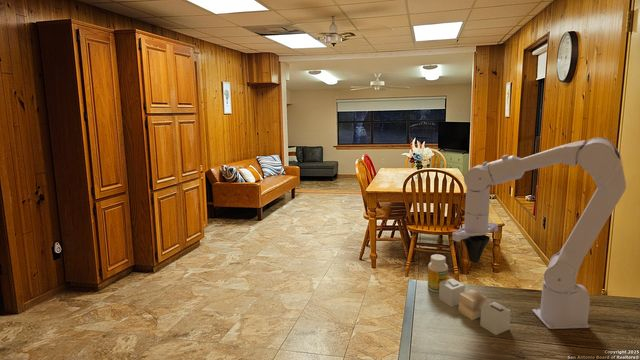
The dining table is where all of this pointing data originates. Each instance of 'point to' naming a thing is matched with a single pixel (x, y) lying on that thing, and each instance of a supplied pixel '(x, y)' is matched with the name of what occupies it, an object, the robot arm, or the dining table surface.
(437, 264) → the supplement bottle
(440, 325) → the dining table surface
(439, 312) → the dining table surface
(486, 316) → the marked block 1
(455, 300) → the marked block 7
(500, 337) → the dining table surface
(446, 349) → the dining table surface
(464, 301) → the plain block
